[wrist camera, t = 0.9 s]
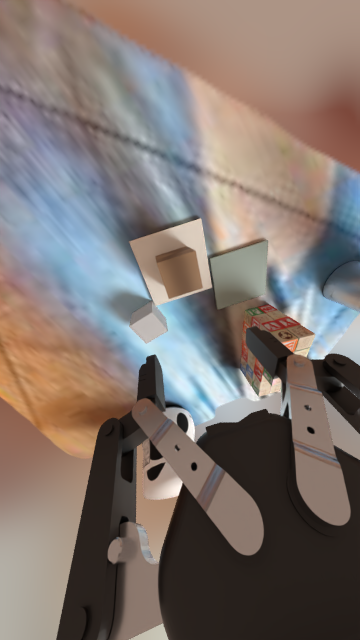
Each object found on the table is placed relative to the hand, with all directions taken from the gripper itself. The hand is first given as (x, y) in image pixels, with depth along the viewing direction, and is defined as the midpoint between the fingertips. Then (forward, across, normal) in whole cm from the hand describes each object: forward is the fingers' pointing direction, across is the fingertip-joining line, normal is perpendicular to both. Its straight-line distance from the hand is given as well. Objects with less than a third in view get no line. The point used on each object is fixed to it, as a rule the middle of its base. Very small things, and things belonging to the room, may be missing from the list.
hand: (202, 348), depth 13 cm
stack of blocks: (+19, -17, +22) cm, 34 cm away
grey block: (+19, +7, +6) cm, 21 cm away
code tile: (+19, -1, -3) cm, 19 cm away
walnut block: (+18, -1, -3) cm, 19 cm away
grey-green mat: (+19, -13, +3) cm, 23 cm away
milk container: (+19, +14, +46) cm, 52 cm away
